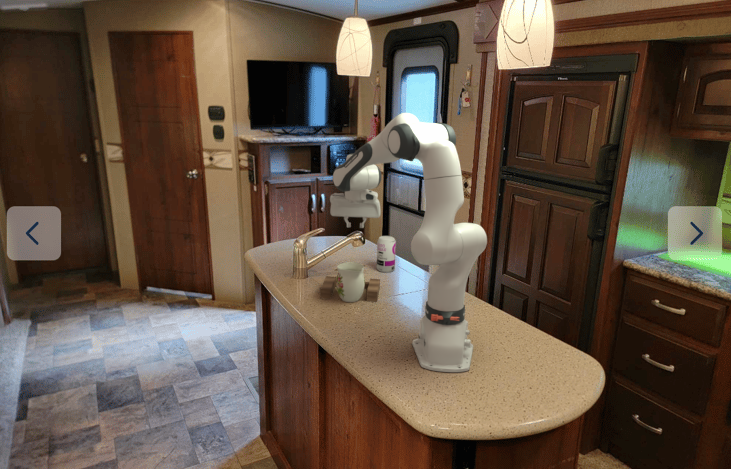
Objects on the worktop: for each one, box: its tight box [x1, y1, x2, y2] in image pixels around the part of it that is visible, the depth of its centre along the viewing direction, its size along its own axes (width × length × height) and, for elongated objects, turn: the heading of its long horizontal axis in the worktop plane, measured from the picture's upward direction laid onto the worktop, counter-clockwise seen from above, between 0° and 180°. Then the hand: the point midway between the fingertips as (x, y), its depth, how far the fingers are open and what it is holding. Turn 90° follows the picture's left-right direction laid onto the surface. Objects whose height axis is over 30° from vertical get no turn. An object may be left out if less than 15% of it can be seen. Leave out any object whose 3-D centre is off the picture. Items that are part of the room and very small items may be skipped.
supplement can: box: [376, 235, 397, 273], centre depth 218 cm, size 8×8×15 cm
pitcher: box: [335, 261, 366, 303], centre depth 186 cm, size 11×18×14 cm, turn 27°
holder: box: [319, 275, 381, 303], centre depth 191 cm, size 14×22×4 cm, turn 84°
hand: (355, 227), depth 196 cm, fingers open, 4 cm apart
